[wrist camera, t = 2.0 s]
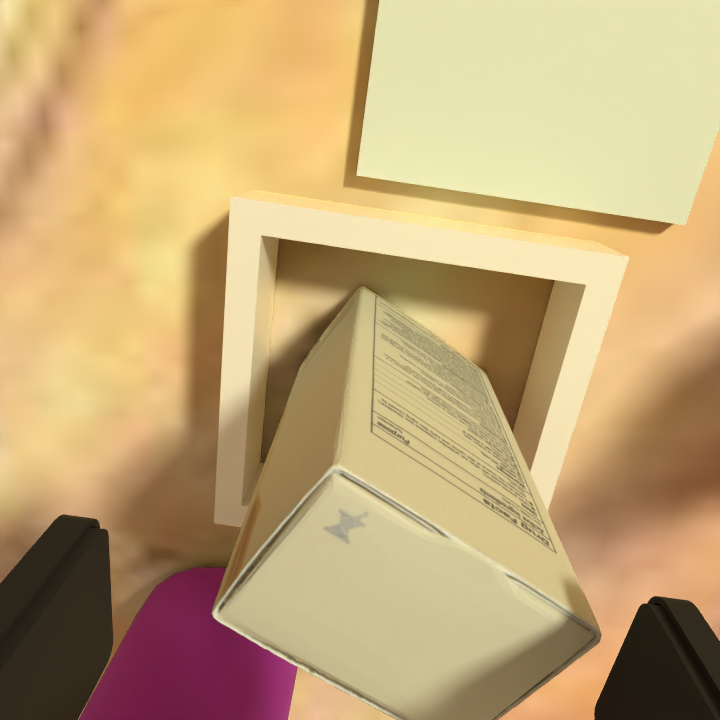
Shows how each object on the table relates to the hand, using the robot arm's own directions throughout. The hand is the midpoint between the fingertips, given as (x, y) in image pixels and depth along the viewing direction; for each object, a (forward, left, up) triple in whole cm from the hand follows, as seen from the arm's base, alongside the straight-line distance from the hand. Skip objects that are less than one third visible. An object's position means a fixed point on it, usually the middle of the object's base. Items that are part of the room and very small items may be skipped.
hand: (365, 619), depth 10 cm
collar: (0, -1, -12) cm, 12 cm away
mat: (+13, -4, -12) cm, 18 cm away
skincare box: (0, -1, -13) cm, 13 cm away
